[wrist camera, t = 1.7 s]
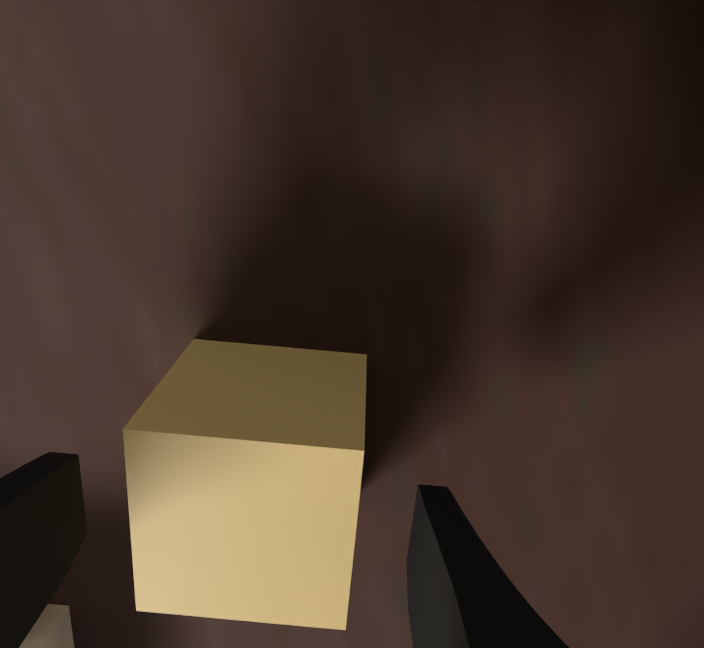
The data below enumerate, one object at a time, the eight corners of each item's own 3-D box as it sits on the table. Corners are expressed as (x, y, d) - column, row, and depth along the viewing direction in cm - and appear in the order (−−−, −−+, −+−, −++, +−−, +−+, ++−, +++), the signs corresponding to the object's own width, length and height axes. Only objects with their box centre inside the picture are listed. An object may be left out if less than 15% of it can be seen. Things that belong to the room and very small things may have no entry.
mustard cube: (366, 353, 15) (364, 450, 10) (352, 495, 16) (345, 629, 12) (195, 337, 15) (123, 429, 10) (197, 481, 16) (136, 610, 12)
